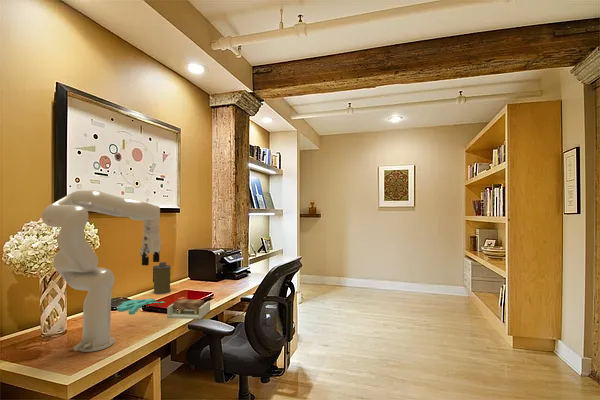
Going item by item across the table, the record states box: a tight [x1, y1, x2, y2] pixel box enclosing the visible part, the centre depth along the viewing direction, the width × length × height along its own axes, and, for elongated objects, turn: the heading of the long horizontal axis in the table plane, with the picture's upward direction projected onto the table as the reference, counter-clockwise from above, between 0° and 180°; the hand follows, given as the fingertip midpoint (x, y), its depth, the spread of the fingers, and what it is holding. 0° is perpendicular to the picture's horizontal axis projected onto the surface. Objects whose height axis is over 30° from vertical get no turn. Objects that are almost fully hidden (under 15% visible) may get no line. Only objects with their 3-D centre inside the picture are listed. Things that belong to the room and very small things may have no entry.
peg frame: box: [166, 300, 211, 320], centre depth 165 cm, size 12×18×6 cm, turn 85°
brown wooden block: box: [173, 298, 205, 310], centre depth 165 cm, size 14×6×4 cm, turn 84°
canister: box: [152, 261, 172, 295], centre depth 210 cm, size 11×10×20 cm
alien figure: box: [116, 298, 166, 316], centre depth 178 cm, size 20×2×20 cm
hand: (150, 263), depth 157 cm, fingers open, 9 cm apart
